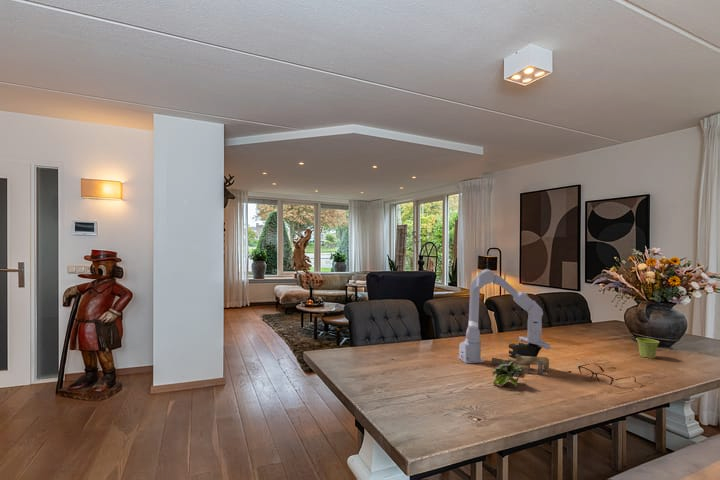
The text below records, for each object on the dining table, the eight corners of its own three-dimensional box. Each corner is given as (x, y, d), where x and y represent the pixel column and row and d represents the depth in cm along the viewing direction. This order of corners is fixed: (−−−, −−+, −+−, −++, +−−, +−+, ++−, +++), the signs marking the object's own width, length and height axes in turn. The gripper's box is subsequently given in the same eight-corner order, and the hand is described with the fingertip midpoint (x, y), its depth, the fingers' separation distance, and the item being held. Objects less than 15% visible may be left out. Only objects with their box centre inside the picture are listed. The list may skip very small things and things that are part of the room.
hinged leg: (516, 368, 153) (516, 355, 153) (514, 366, 155) (514, 353, 155) (548, 371, 151) (548, 357, 151) (546, 369, 153) (546, 355, 154)
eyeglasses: (575, 373, 150) (575, 364, 151) (600, 370, 156) (600, 361, 156) (614, 388, 135) (614, 378, 135) (640, 384, 141) (640, 374, 141)
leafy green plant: (503, 395, 138) (515, 368, 142) (523, 401, 128) (535, 372, 132) (482, 379, 137) (494, 353, 141) (500, 385, 126) (513, 356, 130)
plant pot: (664, 360, 173) (664, 342, 174) (645, 359, 174) (645, 342, 174) (649, 354, 183) (649, 338, 183) (631, 353, 183) (631, 337, 183)
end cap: (518, 360, 166) (518, 346, 166) (507, 356, 172) (507, 342, 173) (534, 359, 168) (535, 345, 169) (523, 355, 175) (524, 341, 175)
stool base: (545, 382, 138) (545, 368, 138) (487, 370, 150) (487, 358, 150) (548, 367, 157) (548, 355, 157) (496, 357, 169) (496, 346, 169)
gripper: (555, 333, 151) (554, 365, 151) (526, 326, 164) (526, 355, 164) (544, 335, 148) (543, 366, 148) (516, 327, 161) (515, 356, 161)
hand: (533, 360), depth 156 cm, fingers closed
